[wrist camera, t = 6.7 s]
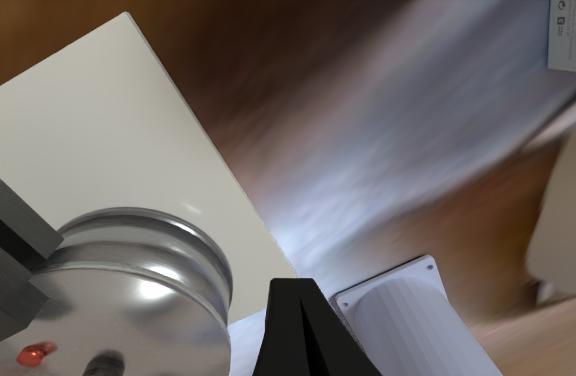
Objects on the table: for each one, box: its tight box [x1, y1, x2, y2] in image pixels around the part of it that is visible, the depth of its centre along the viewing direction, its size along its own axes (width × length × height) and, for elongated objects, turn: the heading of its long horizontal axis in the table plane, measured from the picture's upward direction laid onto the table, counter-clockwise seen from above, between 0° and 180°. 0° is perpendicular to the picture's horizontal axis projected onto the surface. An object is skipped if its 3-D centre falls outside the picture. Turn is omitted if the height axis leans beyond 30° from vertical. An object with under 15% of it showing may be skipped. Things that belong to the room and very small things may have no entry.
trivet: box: [0, 12, 299, 325], centre depth 20 cm, size 20×17×1 cm
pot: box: [0, 179, 233, 327], centre depth 18 cm, size 22×12×5 cm, turn 26°
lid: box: [0, 248, 231, 376], centre depth 15 cm, size 21×13×2 cm, turn 27°
